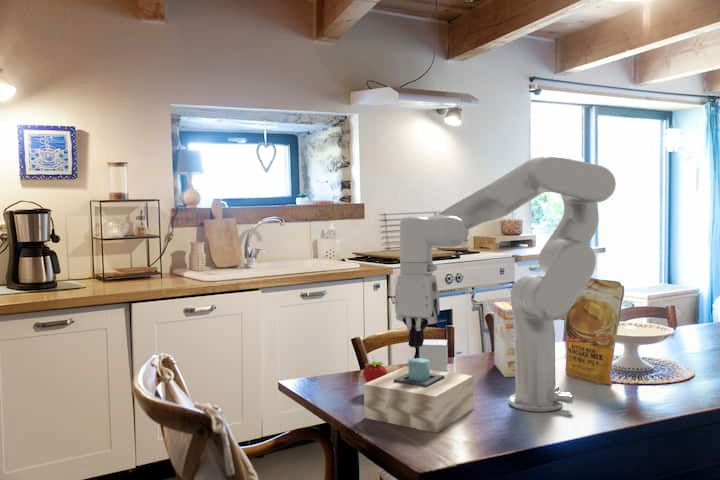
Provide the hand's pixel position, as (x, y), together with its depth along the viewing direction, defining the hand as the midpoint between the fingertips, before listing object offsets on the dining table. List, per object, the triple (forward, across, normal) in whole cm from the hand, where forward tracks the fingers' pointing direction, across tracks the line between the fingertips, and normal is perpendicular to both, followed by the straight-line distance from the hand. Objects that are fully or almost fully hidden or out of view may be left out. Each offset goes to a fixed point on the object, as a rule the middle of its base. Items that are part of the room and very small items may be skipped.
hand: (416, 346), depth 147 cm
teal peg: (+10, 0, 0) cm, 11 cm away
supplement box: (+16, +6, -21) cm, 27 cm away
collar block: (+16, -1, -1) cm, 16 cm away
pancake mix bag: (+15, -27, -51) cm, 59 cm away
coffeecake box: (+16, -5, -48) cm, 50 cm away
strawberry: (+16, +17, -9) cm, 25 cm away
